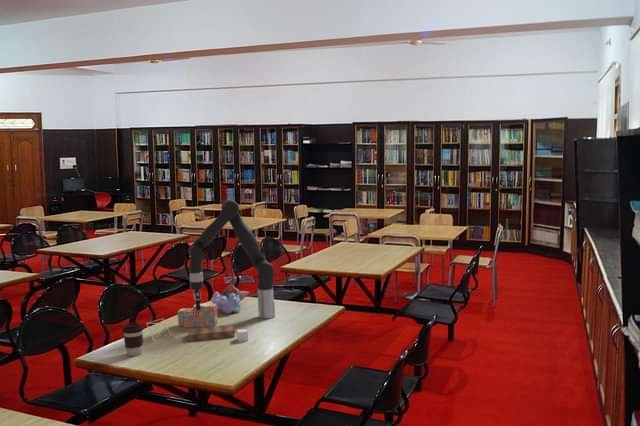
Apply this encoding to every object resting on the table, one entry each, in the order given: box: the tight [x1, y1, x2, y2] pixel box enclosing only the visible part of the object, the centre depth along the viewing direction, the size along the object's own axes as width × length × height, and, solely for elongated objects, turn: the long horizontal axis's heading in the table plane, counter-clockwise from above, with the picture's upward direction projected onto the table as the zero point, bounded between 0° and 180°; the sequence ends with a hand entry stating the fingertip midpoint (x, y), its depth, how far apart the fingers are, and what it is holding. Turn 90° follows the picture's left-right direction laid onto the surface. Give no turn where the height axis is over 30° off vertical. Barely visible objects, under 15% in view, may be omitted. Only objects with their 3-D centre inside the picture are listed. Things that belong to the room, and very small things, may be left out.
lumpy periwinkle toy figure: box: [210, 283, 251, 315], centre depth 360 cm, size 20×22×18 cm
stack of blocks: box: [177, 303, 219, 328], centre depth 329 cm, size 21×6×12 cm, turn 85°
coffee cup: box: [121, 322, 144, 357], centre depth 284 cm, size 10×10×15 cm
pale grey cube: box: [236, 328, 249, 343], centre depth 302 cm, size 5×5×5 cm
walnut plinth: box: [187, 324, 236, 342], centre depth 309 cm, size 24×10×4 cm, turn 103°
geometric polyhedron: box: [146, 318, 172, 342], centre depth 309 cm, size 12×11×9 cm
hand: (197, 308), depth 329 cm, fingers open, 8 cm apart
